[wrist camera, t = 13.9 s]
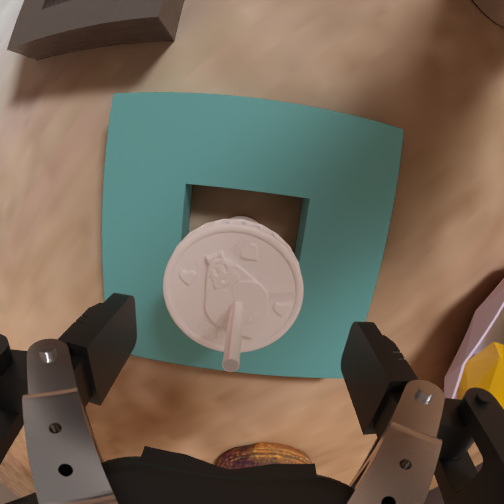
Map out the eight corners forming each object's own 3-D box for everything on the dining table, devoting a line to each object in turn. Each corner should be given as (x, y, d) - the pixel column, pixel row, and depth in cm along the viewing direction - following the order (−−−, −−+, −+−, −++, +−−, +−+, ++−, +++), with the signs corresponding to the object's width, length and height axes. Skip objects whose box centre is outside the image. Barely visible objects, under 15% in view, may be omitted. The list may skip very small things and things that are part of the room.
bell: (247, 428, 28) (246, 482, 21) (330, 454, 30) (340, 500, 23) (200, 469, 31) (193, 513, 24) (275, 491, 33) (277, 531, 26)
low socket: (389, 132, 20) (403, 129, 18) (339, 361, 26) (345, 378, 23) (127, 99, 19) (113, 93, 17) (120, 335, 25) (109, 350, 22)
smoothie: (218, 292, 24) (184, 432, 10) (183, 217, 22) (91, 296, 9) (296, 263, 23) (345, 389, 9) (265, 183, 21) (286, 216, 8)
